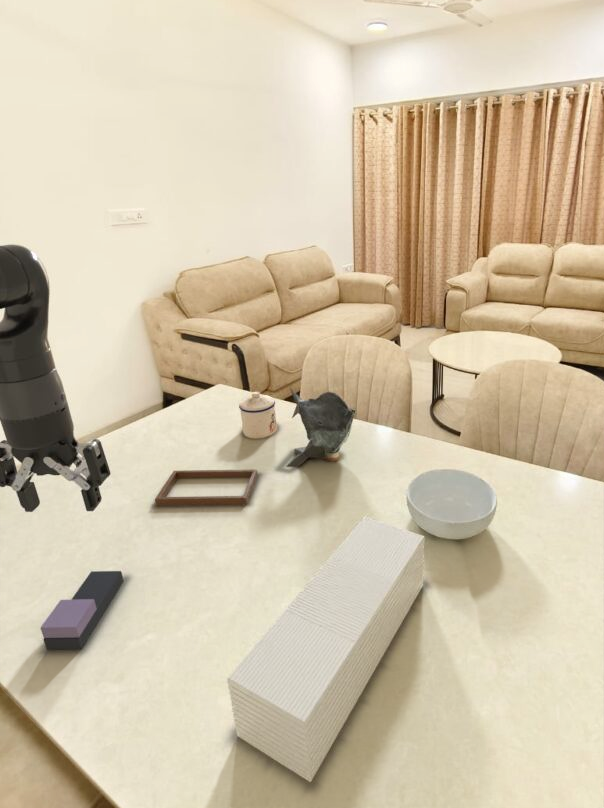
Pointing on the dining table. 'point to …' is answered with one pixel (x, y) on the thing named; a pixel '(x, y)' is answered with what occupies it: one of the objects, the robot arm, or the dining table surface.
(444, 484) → the cereal bowl
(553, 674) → the dining table surface
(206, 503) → the empty rectangular frame
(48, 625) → the navy and purple block
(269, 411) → the teacup with lid
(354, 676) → the stack of papers
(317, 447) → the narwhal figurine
